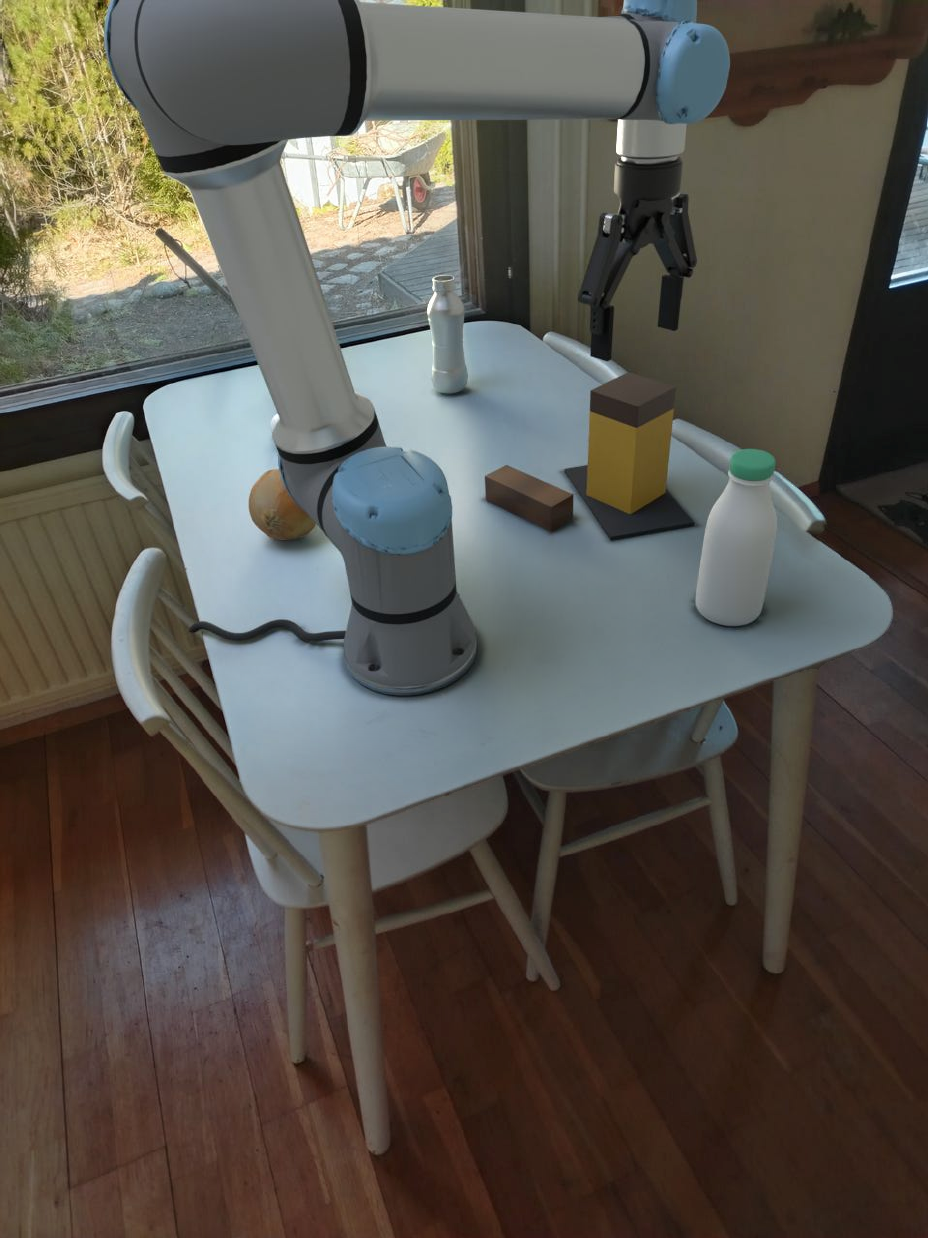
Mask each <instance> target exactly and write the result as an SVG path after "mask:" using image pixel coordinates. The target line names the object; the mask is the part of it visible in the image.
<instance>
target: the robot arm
mask: <svg viewBox="0 0 928 1238" xmlns="http://www.w3.org/2000/svg"><path fill="white" fill-rule="evenodd" d="M697 15H698V0H623V7H622V10H621V13H619V14H617V15H611V16H586V15H573V14H571V15H570V14H569V15H568V14H554V13H541V12H540V13H539V12H538V13H537V12H525V11H508V10H507V11H506V10H494V9H493V10H491V9H478V8H477V9H476V8H461V7H460V8H458V7H446V6H429V5H416V4H415V5H414V4H401V3H400V4H399V3H398V4H397V3H384V2H383V3H382V2H367V1H360V0H110V2H109V5H108V8H107V11H106V16H105V21H104V29H103V30H104V32H103V33H104V34H103V35H104V37H103V38H104V48H105V54H106V59H107V62H108V65H109V69H110V72H111V74H112V76H113V79H114V82H115V83H116V85H117V87H118V89H119V90H120V91H121V92H122V94H123V97H124V98H125V99H126V100H127V101H128V102H129V104H130V105H131V106H132V107H133V108H134V109H135V110H136V111H137V112H138V115H139V117H140V119H141V122H142V125H143V127H144V130H145V132H146V134H147V137H148V139H149V142H150V145H151V147H152V150H153V151H154V154H155V156H156V159H157V161H158V164H159V165H160V168H161V171H162V172H163V174H164V175H165V176H166V177H169V178H170V179H172V180H173V181H176V182H178V183H179V184H181V185H183V186H185V187H186V188H187V189H188V191H189V194H190V196H191V198H192V201H193V203H194V206H195V209H196V211H197V215H198V216H199V219H200V222H201V223H202V227H203V229H204V231H205V234H206V236H207V239H208V241H209V244H210V247H211V249H212V252H213V254H214V256H215V259H216V262H217V264H218V267H219V269H220V272H221V274H222V277H223V279H224V282H225V285H226V287H227V290H228V292H229V294H230V297H231V300H232V302H233V304H234V307H235V309H236V311H237V314H238V317H239V320H240V322H241V325H242V327H243V330H244V333H245V335H246V337H247V340H248V342H249V345H250V347H251V350H252V352H253V355H254V357H255V360H256V362H257V366H258V368H259V370H260V373H261V375H262V378H263V380H264V382H265V385H266V388H267V391H268V393H269V395H270V398H271V401H272V404H273V405H274V408H275V411H276V413H277V414H278V416H279V420H278V422H277V423H276V425H275V427H274V429H273V433H272V432H271V433H272V436H271V437H272V441H273V444H274V445H275V448H276V451H277V466H278V469H279V472H280V476H281V478H282V481H283V484H284V486H285V488H286V490H287V492H288V494H289V495H290V497H291V498H292V499H293V501H294V502H295V503H296V504H297V505H298V506H299V507H300V508H301V509H303V510H304V511H305V512H306V513H307V514H308V515H309V516H310V518H311V519H312V520H313V521H314V522H315V523H316V526H317V527H318V528H319V529H320V530H321V532H322V533H323V534H324V535H325V536H326V538H327V539H328V540H329V541H330V542H331V544H332V545H333V546H334V547H335V548H336V549H337V550H338V552H339V553H340V555H341V557H342V559H343V562H344V566H345V571H346V578H347V583H348V589H349V595H350V600H351V601H350V602H351V607H350V611H349V616H348V620H347V624H346V629H345V630H332V631H331V630H330V631H322V632H314V633H311V632H306V631H305V630H303V628H301V627H300V625H299V624H297V623H296V622H294V621H292V620H289V619H284V618H281V619H280V618H279V619H274V620H270V621H268V622H265V623H262V624H261V625H259V626H257V627H256V628H253V629H251V630H249V631H245V632H233V631H229V630H226V629H223V628H221V627H219V626H217V625H216V624H213V623H211V622H209V621H205V620H200V621H196V622H194V623H193V624H191V626H190V627H189V628H188V632H189V633H192V634H194V633H197V632H199V631H200V630H204V631H208V632H210V633H211V634H214V635H215V636H217V637H220V638H222V639H224V640H226V641H227V640H228V641H232V642H245V641H246V642H247V641H250V640H253V639H255V638H258V637H260V636H261V635H263V634H266V633H267V632H269V631H272V630H275V629H279V628H281V629H282V628H283V629H288V630H290V631H291V632H292V633H293V634H294V635H295V636H296V637H297V638H299V639H301V640H302V641H305V642H308V643H309V642H310V643H317V642H324V641H336V640H343V654H344V659H345V665H346V668H347V670H348V672H349V674H350V675H351V676H352V678H353V679H355V681H356V682H358V683H359V684H360V685H362V686H364V687H366V688H368V690H371V691H374V692H377V693H381V694H385V695H391V696H418V695H422V694H423V695H424V694H427V693H431V692H434V691H435V692H436V691H438V690H440V689H443V688H444V687H447V686H449V685H450V684H453V683H454V682H456V681H458V679H460V678H461V677H462V676H464V675H465V674H466V672H468V670H469V669H470V668H471V667H472V665H473V663H474V661H475V659H476V656H477V651H478V643H477V642H478V641H477V633H476V630H475V625H474V623H473V621H472V618H471V617H470V615H469V613H468V611H467V608H466V606H465V605H464V603H463V601H462V599H461V595H460V593H459V592H458V591H457V576H456V575H457V574H456V563H455V547H454V532H453V519H452V518H453V503H452V502H453V501H452V496H451V495H450V492H449V491H450V490H449V485H448V480H447V478H446V475H445V473H444V471H443V470H442V468H441V467H440V466H439V465H438V464H437V463H436V462H435V460H433V459H432V458H430V457H429V456H427V455H426V454H423V453H422V452H420V451H417V450H414V449H409V450H405V451H404V448H403V447H400V446H387V444H386V442H385V438H384V435H383V432H382V429H381V425H380V422H379V418H378V416H377V411H376V409H375V406H374V403H373V402H372V401H371V400H370V399H369V398H368V397H365V396H363V395H361V394H359V393H356V392H355V389H354V385H353V382H352V379H351V376H350V374H349V370H348V367H347V364H346V361H345V358H344V354H343V351H342V348H341V345H340V342H339V340H338V339H339V338H338V336H337V333H336V332H337V331H336V330H335V326H334V323H333V320H332V317H331V314H330V310H329V307H328V304H327V301H326V299H325V295H324V292H323V289H322V286H321V283H320V280H319V277H318V273H317V270H316V267H315V264H314V261H313V258H312V255H311V252H310V249H309V245H308V242H307V239H306V236H305V233H304V230H303V225H302V224H301V221H300V217H299V215H298V211H297V208H296V205H295V202H294V199H293V196H292V192H291V188H290V187H289V183H288V179H287V177H286V173H285V171H284V167H283V164H282V161H281V160H282V155H283V154H284V151H285V149H286V147H287V145H288V142H289V140H297V139H307V138H308V139H310V138H322V137H323V138H325V137H349V136H353V135H355V134H356V133H357V132H358V131H359V130H360V128H361V127H362V126H363V124H364V123H365V122H368V121H370V122H371V121H372V122H377V121H378V122H379V121H380V122H381V121H384V122H385V121H386V122H387V121H390V122H391V121H393V122H394V121H397V122H398V121H400V122H401V121H529V120H530V121H538V120H541V121H542V120H543V121H545V120H546V121H547V120H548V121H549V120H550V121H552V120H553V121H554V120H556V121H557V120H558V121H559V120H616V121H617V132H616V147H615V150H616V154H617V155H618V156H619V158H618V159H617V160H616V161H615V162H614V175H613V176H614V178H613V194H614V195H615V196H616V197H617V198H618V200H619V208H618V211H617V213H609V212H602V213H601V214H600V215H599V219H598V228H597V236H596V239H595V241H594V245H593V248H592V251H591V254H590V258H589V261H588V263H587V267H586V270H585V273H584V276H583V279H582V283H581V286H580V289H579V292H578V295H577V302H578V303H580V304H582V305H587V306H589V308H590V311H589V312H590V313H589V332H590V357H592V358H594V359H597V360H601V361H604V362H609V361H612V354H613V353H612V352H613V335H614V319H615V305H612V304H611V302H612V301H613V298H614V296H615V294H616V293H617V289H618V288H619V285H620V284H621V282H622V279H623V277H624V276H625V274H626V271H627V269H628V267H629V266H630V264H631V261H632V259H633V258H634V257H635V256H636V255H638V254H639V252H640V251H641V249H643V248H646V247H647V246H648V245H650V244H651V245H653V247H654V249H655V251H656V253H657V254H658V257H659V259H660V261H661V263H662V265H663V267H664V269H665V271H666V273H667V274H664V275H661V283H660V295H659V305H658V318H657V327H658V328H661V329H665V330H667V331H668V330H669V331H672V332H675V331H678V330H679V322H680V321H679V320H680V313H681V302H682V297H683V291H684V290H683V288H684V281H685V278H688V279H690V278H692V276H693V274H694V268H696V266H697V263H698V259H697V252H696V248H695V242H694V237H693V231H692V226H691V220H690V215H689V203H690V202H689V199H690V198H689V194H687V193H684V192H683V193H682V192H680V191H681V185H682V176H683V175H682V174H683V165H684V161H683V160H682V158H681V157H680V155H681V154H683V153H684V151H685V148H686V136H687V126H688V125H691V124H696V123H698V122H701V121H703V120H704V119H705V118H707V117H709V115H710V114H711V113H712V112H713V111H714V110H715V109H716V108H717V106H718V105H719V103H720V101H721V100H722V97H723V96H724V93H725V91H726V89H727V86H728V85H727V84H728V79H729V73H730V69H731V68H730V67H731V57H730V50H729V46H728V43H727V41H726V39H725V37H724V36H723V34H722V32H720V31H719V29H718V28H716V27H715V26H712V25H710V24H706V23H705V24H704V23H698V22H697Z"/></svg>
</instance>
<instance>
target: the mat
mask: <svg viewBox="0 0 928 1238" xmlns="http://www.w3.org/2000/svg"><path fill="white" fill-rule="evenodd" d="M587 469H588V464H586V465H579V466H573V467H568V468H567V467H566V468H564V469H563V470H564V472H563V473H564V474H565V475H566V477H567V478H568V480H569V481H570V483H571V484H572V486H573V487H574V489H575V490H576V492H577V493H578V494H579V496H580V498H581V499H582V501H583V502H584V503H585V505H586V506H587V508H588V509H589V511H590V512H591V514H592V515H593V517H594V518H595V520H596V521H597V523H598V524H599V525H600V527H601V528H602V530H603V532H604V533H605V534H606V536H607V537H608V539H609V541H616V540H621V539H626V538H632V537H633V538H634V537H637V536H643V535H649V534H654V533H660V532H661V533H662V532H666V531H671V530H676V529H684V528H688V527H694V526H695V521H694V519H692V518H691V517H690V515H689V514H688V513H687V512H686V510H685V509H684V508H683V507H682V506H681V505H680V503H679V502H678V501H677V500H676V499H675V498H674V496H673V495H672V494H671V493H670V492H669V491H668V489H666V492H665V493H664V494H663V495H661V496H659V497H658V498H656V499H655V500H653V501H651V502H650V503H648V504H646V505H645V506H643V507H642V508H640V509H638V510H637V511H635V512H634V513H632V514H628V513H626V512H624V511H621V510H619V509H617V508H615V507H612V506H610V505H608V504H605V503H603V502H601V501H599V500H596V499H594V498H592V497H590V496H587Z"/></svg>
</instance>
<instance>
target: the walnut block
mask: <svg viewBox="0 0 928 1238" xmlns="http://www.w3.org/2000/svg"><path fill="white" fill-rule="evenodd" d="M484 489H485V492H484V493H485V501H487V502H488V503H491V504H493V505H495V506H497V507H499V508H500V509H503V510H505V511H507V512H510V513H512V514H513V515H515V516H517V517H520V518H522V519H523V520H525V521H527V522H530V523H532V524H534V525H536V526H538V527H540V528H542V529H544V530H546V531H548V532H550V533H552V532H554V531H555V530H557V529H559V528H561V527H563V526H564V525H566V524H567V523H570V522H572V521H573V520H574V498H575V497H574V493H571V492H569V491H567V490H565V489H563V488H560V487H558V486H556V485H553V484H551V483H549V482H547V481H544V480H542V479H540V478H538V477H535V476H533V475H531V474H529V473H526V472H524V471H522V470H520V469H517V468H515V467H512V466H510V465H509V464H505V465H504V466H501V467H499V468H497V469H496V470H493V471H491V472H490V473H487V474H485V475H484Z"/></svg>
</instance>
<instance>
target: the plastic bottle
mask: <svg viewBox="0 0 928 1238" xmlns="http://www.w3.org/2000/svg"><path fill="white" fill-rule="evenodd" d="M456 287H457V286H456V283H455V276H454V275H450V274H440V275H436V276H433V278H432V291H433V292H434V293H433V295H432V297H431V299H430V300H429V302H428V304H427V309H426V314H427V319H428V325H429V330H430V334H431V341H432V367H431V368H432V369H431V382H432V386H433V388H434V389H435V390H436V391H437V392H438V393H442V394H455V393H459V392H461V391H463V390H464V389H466V386H467V385H468V381H469V371H468V368H467V364H466V357H465V352H464V350H465V349H464V325H465V314H466V313H465V311H466V308H465V305H464V302H463V301H462V299H461V298H460V296H459V295H458V294H457V293H456V292H455V290H456V289H457V288H456Z"/></svg>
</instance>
